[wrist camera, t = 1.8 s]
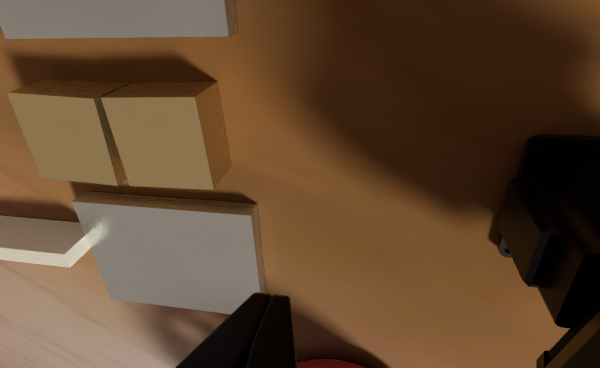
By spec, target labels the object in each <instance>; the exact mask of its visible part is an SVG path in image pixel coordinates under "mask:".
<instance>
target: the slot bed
mask: <svg viewBox="0 0 600 368" xmlns="http://www.w3.org/2000/svg"><path fill="white" fill-rule="evenodd" d="M0 26H1V28H2V31H3V33H4V36H5V38H6V39H38V38H128V37H218V36H231V35H233V34H235V33H238V26H237V17H236V8H235V0H0ZM72 204H73V207H74V209H75V212H76V214H77V216H78V219H79V221H80V224H81V226H82V229H83V231H84V234H85V236H86V239H87V241H88V244H89V246H90V249H91V251H92V254H93V256H94V259H95V261H96V263H97V266H98V268H99V271H100V273H101V276H102V278H103V281H104V283H105V286H106V288H107V291H108V293H109V296H110V298H111V299H116V300H124V301H131V302H139V303H147V304H154V305H162V306H170V307H177V308H185V309H193V310H200V311H208V312H216V313H224V314H232V313H233V312H234V311H235V310H236V309H237V308H238V307H239V306H240V305H241V304H242V303H243V302H245V301H246V300H247V299H248V298H249V297H250V296H251V295H252V294H253V293H255V292H259V293H267V288H266V279H265V270H264V261H263V252H262V243H261V234H260V225H259V216H258V207H257V204H255V203H241V202H227V201H214V200H200V199H186V198H172V197H159V196H145V195H131V194H117V193H104V192H90V191H85V192H84V193H82V194H81V195H80V196H78V197H77V198H76V199H74V200H73V201H72Z"/></svg>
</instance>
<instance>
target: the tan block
mask: <svg viewBox="0 0 600 368" xmlns="http://www.w3.org/2000/svg"><path fill="white" fill-rule="evenodd" d="M101 100H102V103H103V106H104V109H105V112H106V115H107V118H108V121H109V124H110V127H111V130H112V134H113V137H114V140H115V143H116V146H117V149H118V152H119V155H120V158H121V161H122V164H123V167H124V170H125V173H126V176H127V179H128V182H129V185H130V186H142V187H164V188H186V189H208V190H214V189H215V187H216V186H217V185H218V183H219V182H220V181H221V179H222V178H223V177H224V175H225V174H226V173H227V172H228V170H229V169H230V168H231V166H232V162H231V156H230V150H229V144H228V138H227V132H226V126H225V120H224V114H223V109H222V103H221V97H220V91H219V85H218V82H151V83H132V84H130V85H128V86H126V87H123V88H121V89H119V90H117V91H115V92H112V93H110V94H108V95H106V96H103V97H101Z"/></svg>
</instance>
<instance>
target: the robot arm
mask: <svg viewBox="0 0 600 368" xmlns="http://www.w3.org/2000/svg"><path fill="white" fill-rule="evenodd" d="M539 144H545V146H544V147H543V149H541V150H539V151H535V148H536V146H538V145H539ZM498 228H499V230H500V235H499V239H498V242H497V248H498V250H499V252H500V254H501V255H502V256H504V257H510V258H513V261H514V263H515V265H516V267H517V269H518V271H519V274H520V276H521V278H522V280H523V281H524V282H525V284H526V285H527V286H528V287H537V288H538V290H539V292H540V294H541V296H542V298H543V300H544V302H545V304H546V306H547V308H548V310H549V312H550V314H551V316H552V318H553V320H554V322H555V324H556V325H557V326H559V327H563V328H570V329H569V330H568V332H567V333H566V334H565V335H564V336H563V337H562V338H561V339H560V340H559V341H558V342H557V343H556V344H555V345H554V346H553V348H552V349H551V350H550V351H544V352H543V353H542V354H541V356H540V357H539V358H538V359H537V368H600V137H592V136H562V135H536V136H534V137H532V138H530V139H529V140H528V141H527V143H526V145H525V149H524V152H523V156H522V159H521V163H520V166H519V170H518V173H517V177H516V178H515V179H513V180H512V181H511V182H510V183H509V185H508V189H507V192H506V196H505V199H504V203H503V206H502V210H501V214H500V217H499V221H498ZM506 247H508V248H507V249H506ZM176 368H297V362H296V352H295V342H294V333H293V323H292V314H291V304H290V298H289V297H288V296H284V295H276V294H275V295H273V296H272V295H271V294H267V293H259V292H255V293H253V294H252V295H251V296H250V297H249V298H248V299H247V300H246V301H245V302H243V303H242V304H241V305H240V306H239V307H238V308H237V309H236V310H235V311H234V312H233V313H232V314H231V315H230V316H229V317H228V318H227V319H226V320H225V321H224V322H223V323H222V324H221V325H219V326H218V327H217V328H216V329H215V330H214V331H213V332H212V333H211V334H210V335H209V336H208V337H207V338H206V339H205V340H204V341H203V342H202V343H201V344H200V345H199V346H198V347H197V348H195V349H194V350H193V351H192V352H191V353H190V354H189V355H188V356H187V357H186V358H185V359H184V360H183V361H182V362H181V363H180V364H179V365H178V366H177V367H176Z"/></svg>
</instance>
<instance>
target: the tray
mask: <svg viewBox="0 0 600 368" xmlns="http://www.w3.org/2000/svg"><path fill="white" fill-rule="evenodd" d="M89 249H90V246H89V244H88V241H87V239H86V236H85V234H84V231H83V229H82V226H81V224H80V223H78V222H67V221H56V220H45V219H34V218H23V217H12V216H1V215H0V259H1V260H9V261H18V262H26V263H35V264H44V265H52V266H61V267H71V266H72V265H73V264H74V263H75V262H76V261H77V260H78V259H79V258H81V257H82V256H83V255H84V254H85V253H86V252H87V251H88V250H89Z"/></svg>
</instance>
